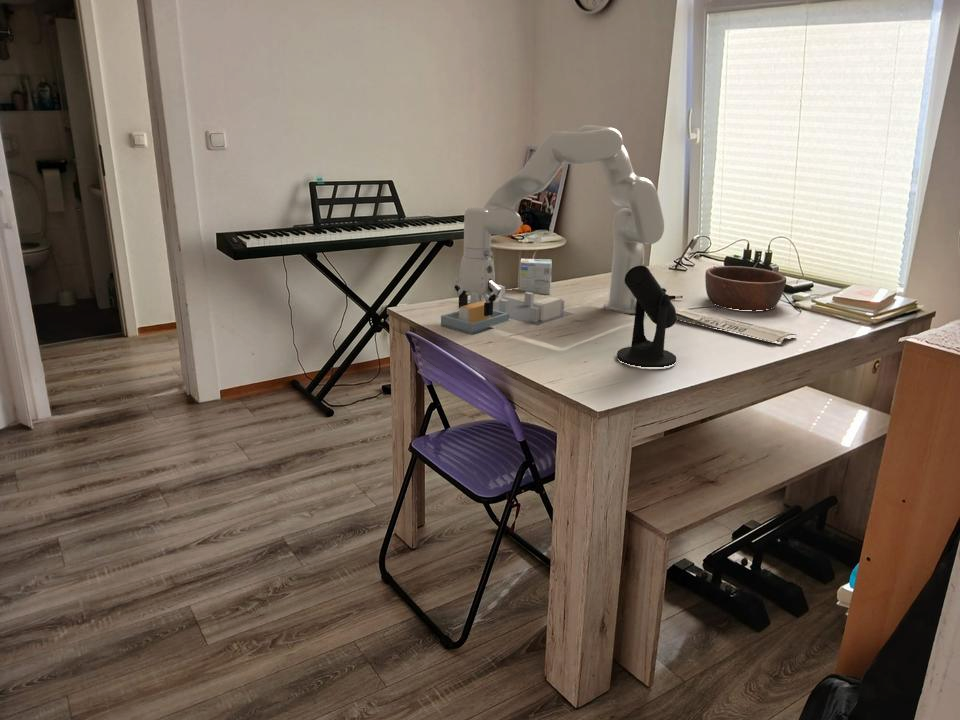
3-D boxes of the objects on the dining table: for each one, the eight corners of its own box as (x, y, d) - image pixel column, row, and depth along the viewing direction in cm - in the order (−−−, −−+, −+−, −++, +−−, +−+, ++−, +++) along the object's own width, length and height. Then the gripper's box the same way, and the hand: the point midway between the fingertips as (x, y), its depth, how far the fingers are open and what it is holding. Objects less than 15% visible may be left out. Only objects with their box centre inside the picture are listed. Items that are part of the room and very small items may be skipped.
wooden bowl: (749, 293, 268) (753, 264, 264) (798, 312, 245) (804, 280, 242) (687, 297, 260) (690, 267, 257) (732, 317, 238) (736, 284, 234)
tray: (508, 323, 224) (509, 313, 223) (472, 335, 213) (472, 324, 212) (477, 315, 232) (478, 305, 231) (440, 325, 220) (441, 315, 219)
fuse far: (502, 300, 245) (502, 285, 243) (481, 306, 238) (482, 290, 236) (493, 298, 247) (494, 283, 246) (473, 303, 240) (473, 288, 238)
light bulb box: (550, 290, 264) (552, 259, 260) (550, 295, 258) (552, 263, 254) (519, 288, 265) (520, 257, 261) (518, 293, 259) (519, 261, 255)
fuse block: (573, 316, 233) (574, 300, 231) (537, 328, 220) (538, 311, 219) (497, 298, 252) (498, 283, 250) (460, 308, 239) (460, 292, 237)
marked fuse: (490, 319, 225) (491, 303, 223) (467, 326, 217) (467, 309, 216) (481, 317, 227) (482, 300, 225) (458, 324, 220) (458, 307, 218)
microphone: (600, 357, 198) (608, 261, 189) (647, 347, 207) (657, 255, 199) (643, 375, 186) (653, 273, 178) (690, 362, 196) (702, 266, 188)
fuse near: (561, 314, 231) (562, 298, 229) (541, 321, 224) (542, 304, 222) (551, 312, 233) (552, 296, 232) (531, 318, 226) (532, 302, 224)
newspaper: (795, 340, 218) (797, 328, 217) (777, 349, 210) (779, 337, 209) (684, 314, 241) (685, 303, 240) (663, 321, 232) (664, 310, 231)
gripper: (509, 255, 213) (507, 315, 218) (463, 246, 223) (462, 303, 229) (491, 259, 207) (489, 320, 213) (445, 250, 218) (444, 308, 224)
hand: (475, 312), depth 221 cm, fingers open, 9 cm apart
